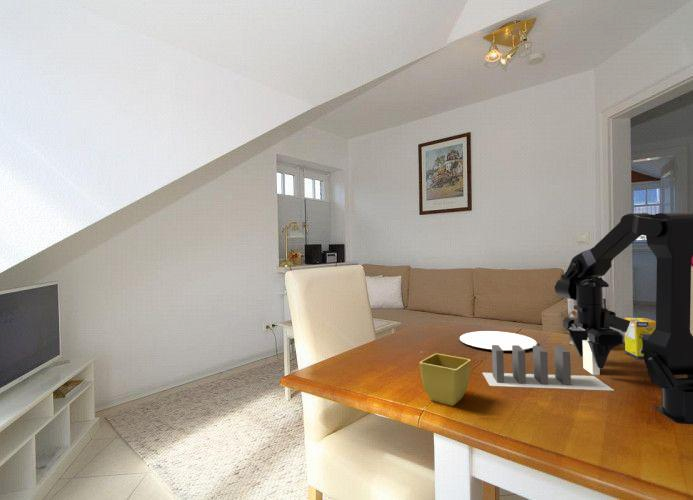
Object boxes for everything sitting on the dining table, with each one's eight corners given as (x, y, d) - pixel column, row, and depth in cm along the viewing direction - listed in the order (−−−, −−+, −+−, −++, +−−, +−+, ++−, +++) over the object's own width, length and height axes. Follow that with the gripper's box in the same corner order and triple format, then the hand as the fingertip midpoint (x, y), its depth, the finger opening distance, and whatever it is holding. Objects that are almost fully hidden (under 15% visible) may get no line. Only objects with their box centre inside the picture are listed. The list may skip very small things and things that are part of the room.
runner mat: (614, 392, 80) (614, 390, 80) (489, 387, 85) (489, 385, 85) (594, 377, 89) (593, 376, 89) (482, 374, 94) (482, 372, 94)
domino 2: (526, 383, 85) (525, 351, 85) (518, 383, 85) (518, 351, 85) (519, 376, 90) (518, 345, 90) (513, 376, 90) (512, 345, 90)
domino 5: (599, 376, 89) (598, 345, 89) (592, 376, 90) (591, 345, 90) (589, 369, 94) (589, 340, 94) (583, 369, 95) (582, 340, 95)
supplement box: (660, 359, 100) (659, 321, 100) (636, 359, 102) (635, 321, 102) (647, 353, 106) (646, 317, 106) (624, 352, 107) (623, 317, 107)
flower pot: (436, 389, 84) (435, 352, 84) (472, 398, 79) (471, 358, 79) (419, 402, 78) (418, 362, 78) (457, 413, 72) (456, 370, 72)
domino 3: (548, 384, 84) (547, 351, 84) (541, 384, 84) (540, 351, 84) (540, 377, 89) (539, 345, 89) (533, 376, 89) (532, 345, 89)
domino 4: (571, 385, 83) (570, 352, 83) (563, 385, 84) (562, 351, 84) (562, 377, 88) (561, 346, 88) (555, 377, 88) (554, 346, 88)
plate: (445, 339, 131) (445, 334, 131) (500, 332, 138) (500, 328, 138) (492, 358, 107) (492, 353, 107) (555, 349, 114) (555, 344, 114)
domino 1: (504, 383, 86) (503, 350, 86) (497, 382, 86) (496, 350, 86) (499, 375, 91) (498, 345, 91) (492, 375, 91) (491, 344, 91)
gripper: (648, 309, 81) (650, 376, 81) (604, 297, 100) (605, 352, 100) (595, 309, 83) (596, 374, 83) (561, 297, 102) (563, 351, 102)
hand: (591, 362), depth 92 cm, fingers open, 9 cm apart
